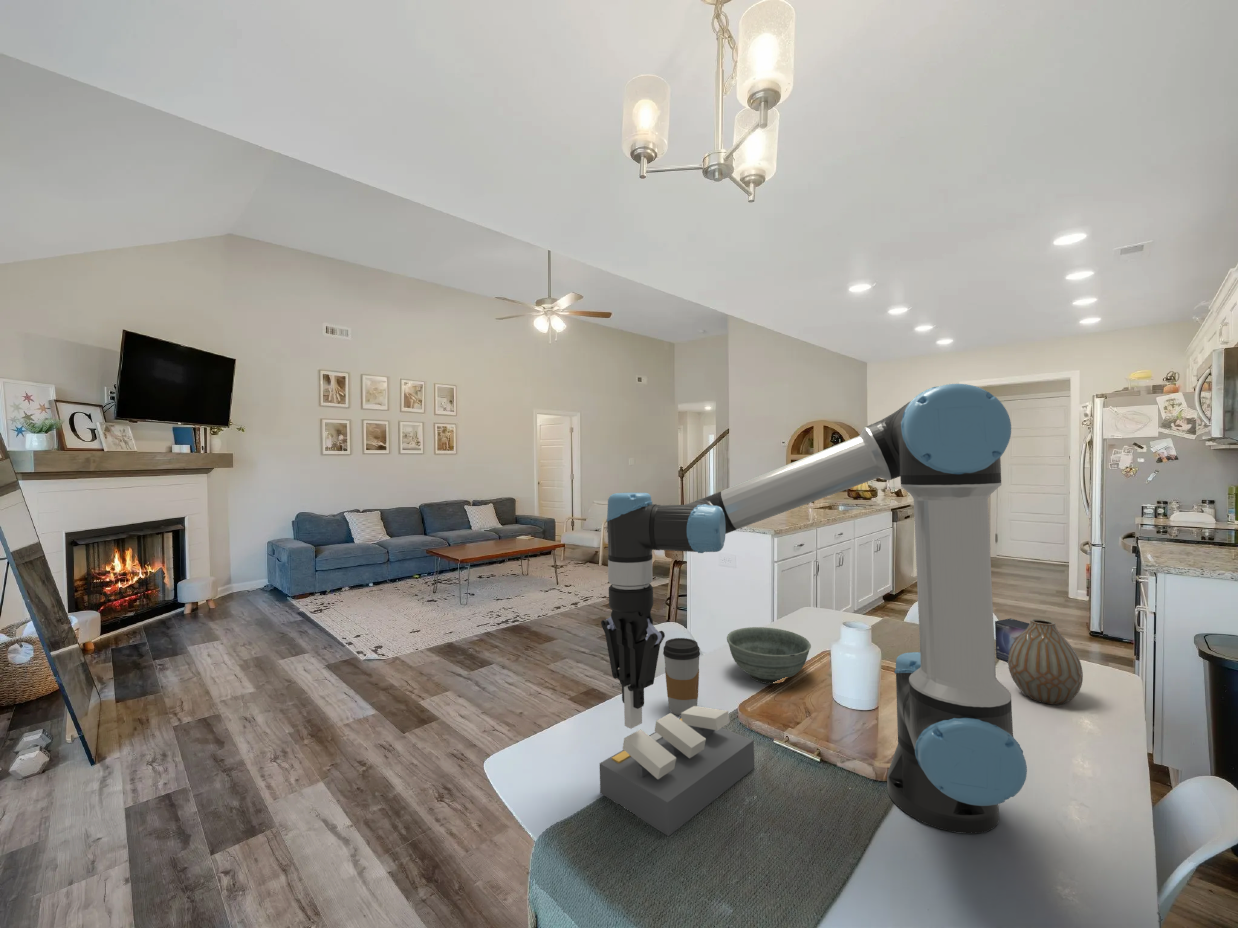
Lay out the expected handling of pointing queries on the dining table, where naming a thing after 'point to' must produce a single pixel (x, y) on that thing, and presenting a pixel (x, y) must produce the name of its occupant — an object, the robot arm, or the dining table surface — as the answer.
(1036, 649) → the vase
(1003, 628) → the small box
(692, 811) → the switch unit
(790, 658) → the bowl
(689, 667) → the coffee cup
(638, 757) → the rocker
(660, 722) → the rocker
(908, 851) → the dining table surface
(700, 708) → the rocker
